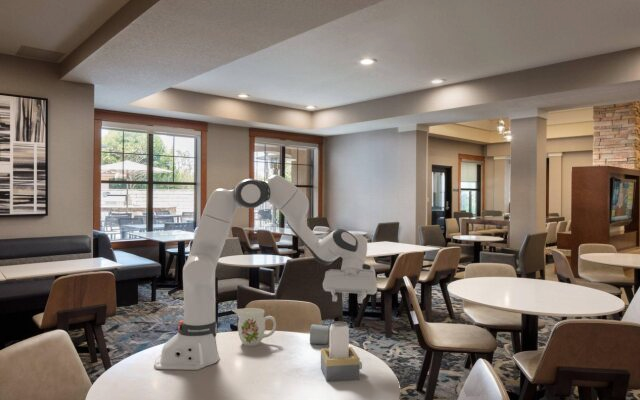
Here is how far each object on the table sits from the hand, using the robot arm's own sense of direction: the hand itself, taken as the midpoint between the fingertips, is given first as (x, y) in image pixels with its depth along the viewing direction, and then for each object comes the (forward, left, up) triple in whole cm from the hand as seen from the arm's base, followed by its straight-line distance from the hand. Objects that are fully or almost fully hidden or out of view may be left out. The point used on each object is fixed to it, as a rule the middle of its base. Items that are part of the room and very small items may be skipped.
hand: (346, 301), depth 159 cm
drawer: (-5, -10, -22) cm, 25 cm away
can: (-5, -10, -17) cm, 20 cm away
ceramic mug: (-6, +23, -22) cm, 33 cm away
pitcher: (-33, +26, -22) cm, 47 cm away
